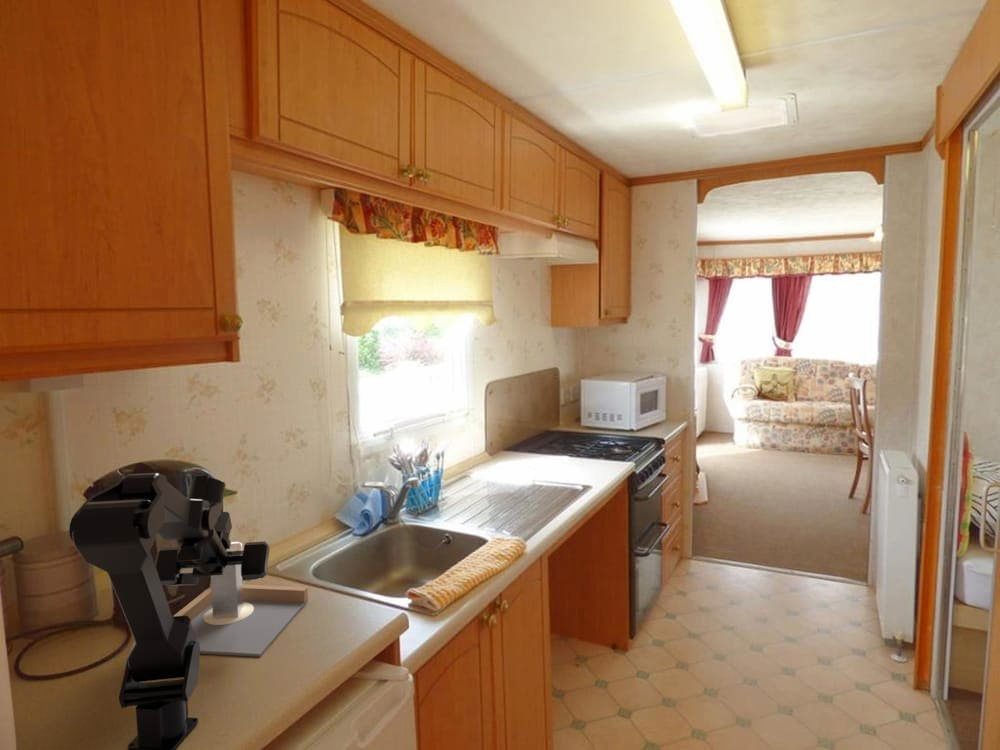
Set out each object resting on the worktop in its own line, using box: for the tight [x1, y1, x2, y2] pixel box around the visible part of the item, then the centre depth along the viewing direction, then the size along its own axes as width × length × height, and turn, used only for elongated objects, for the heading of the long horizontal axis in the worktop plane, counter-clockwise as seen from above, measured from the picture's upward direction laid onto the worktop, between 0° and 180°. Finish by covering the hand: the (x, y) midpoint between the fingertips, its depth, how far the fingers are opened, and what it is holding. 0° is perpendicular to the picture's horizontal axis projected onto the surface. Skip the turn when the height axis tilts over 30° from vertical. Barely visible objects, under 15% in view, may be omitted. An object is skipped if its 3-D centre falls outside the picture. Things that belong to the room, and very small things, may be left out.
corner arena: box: [173, 584, 309, 658], centre depth 115 cm, size 20×20×3 cm
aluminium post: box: [210, 542, 244, 619], centre depth 118 cm, size 4×4×13 cm
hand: (223, 580), depth 116 cm, fingers open, 9 cm apart
